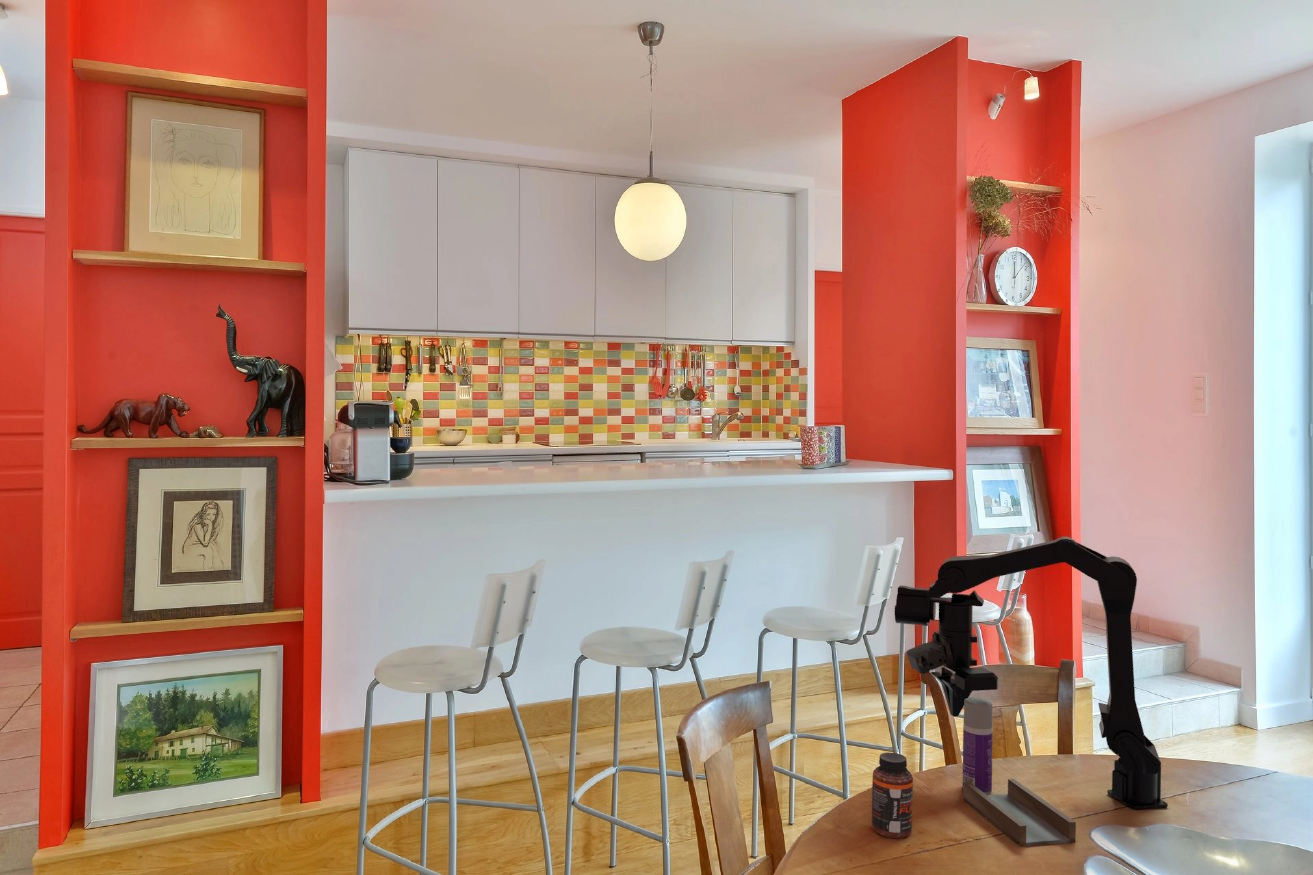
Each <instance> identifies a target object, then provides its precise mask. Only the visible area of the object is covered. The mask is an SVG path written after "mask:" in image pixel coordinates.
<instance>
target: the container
mask: <svg viewBox="0 0 1313 875" xmlns="http://www.w3.org/2000/svg"><path fill="white" fill-rule="evenodd" d="M962 726H963V728H962V731H963V732H962V783H963V782H970V783H972V784H973V785H974V786H976V787H977V788H978V789H979V790H981V791H982V792H983V793H985V794H986V795H992V793H993V789H992V788H993V745H994V744H993V743H994V742H993V741H994V740H993V738H994V737H993V734H994V732H993V729H994V728H993V726H994V725H993V702H992V701H991V700H989V699H987V698H982V697H968V698H966V699H965V700H964V706H963V725H962Z"/></svg>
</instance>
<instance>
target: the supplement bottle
mask: <svg viewBox="0 0 1313 875" xmlns="http://www.w3.org/2000/svg"><path fill="white" fill-rule="evenodd" d="M878 758H879V760H878V764H879V765H878V766H877V767H875V768H874V770H873V771H872V782H871V783H872V784H871V786H872V789H871V791H872V792H871V793H872V794H871V796H872V797H871V828H872V829H873V831H874V832H875V833H876V834H879V835H880V836H883V837H885V838H889V839H903V838H906V837H908V836H910V835H911V834H912V831H913V830H912V828H913V795H914V794H913V793H914V792H913V791H914V790H913V788H914V784H913V783H914V776H913V774H912V772H910V771H909V770H908V763H907V762H908V760H907V757H906V756H905V755H903V754H900V753H897V752H883V753H880V754H879V757H878Z"/></svg>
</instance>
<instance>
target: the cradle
mask: <svg viewBox="0 0 1313 875" xmlns="http://www.w3.org/2000/svg"><path fill="white" fill-rule="evenodd" d="M962 790H963V791H962V792H963V794H962V795H963V797H962V798H963V799H962V800H963V801H964V802H965V803H966V804H968V805H969V806H970V807H971V808H972V809H974V810H975V811H976V812H977V813H979V815H980V816H982V817H983V818H984V819H985V820H987V821H988V822H989V823H991V824H992V825H993V826H994V827H995V828H997V829H998V831H1000V832H1002V834H1004V835H1006V837H1008V839H1010V840H1011V841H1012V842H1014V843H1015V844H1016V845H1017V846H1019V847H1030V846H1041V845H1043V846H1044V845H1045V846H1046V845H1054V844H1055V845H1057V844H1067V843H1076V838H1077V837H1076V836H1077V833H1076V829H1077V828H1076V827H1077V826H1076V821H1075V820H1074V819H1072V818H1071V817H1070V816H1068V815H1067V814H1065V813H1064V812H1062V811H1061V810H1059V809H1058V808H1057V807H1055V806H1053V804H1051V803H1049V802H1048V801H1047V800H1045V799H1044V798H1042V797H1040V796H1039V795H1038V794H1037V793H1035V792H1034V791H1032V790H1030V789H1029V788H1028V787H1026V786H1025V785H1023V784H1022V783H1021V782H1019V781H1018V780H1017V779H1015V778H1008V779H1007V793H1002V794H1001V793H1000V794H989V795H986V794H985V793H983V792H982V791H981V790H979V789H978V788H977V787H976V786H974V785H973V784H972V783H970V782H963V781H962Z"/></svg>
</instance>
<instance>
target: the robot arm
mask: <svg viewBox="0 0 1313 875" xmlns="http://www.w3.org/2000/svg"><path fill="white" fill-rule="evenodd" d="M1060 563H1065V564H1067V565H1069V566H1070V567H1072V568H1074V569H1075V570H1077V571H1079V572H1080V573H1082V574H1084V575H1085V576H1087V577H1089V578H1091V579H1093V580H1094V581H1096V583H1097V586H1098V591H1099V594H1100V595H1099V596H1100V598H1101V603H1102V605H1103V609H1104V610H1103V611H1104V614H1105V615H1104V616H1105V620H1104V621H1105V633H1106V636H1105V637H1106V653H1107V655H1106V656H1107V668H1108V669H1107V670H1108V672H1107V675H1108V688H1109V691H1108V692H1109V693H1108V698H1107V702H1106V703H1102V702H1098V703H1097V704H1098V708H1099V713H1100V722H1099V723H1098V725H1099V731H1100V735H1101V736H1100V737H1101V738H1102V739H1105V741H1106V744H1107V747H1108V748H1109V751H1111V752H1112V753H1113V754H1115V756H1118V757H1119V758H1118V759H1115V760H1114V761H1113V762H1114V763H1113V764H1114V766H1113V767H1114V768H1113V770H1111V771H1112V772H1111V789H1107V791H1106V792H1107V794H1108V795H1110V796H1111V797H1112V798H1115V800H1117V801H1119V802H1121V803H1123V804H1124V805H1126V806H1128V807H1129V808H1131V809H1133V810H1134V809H1135V810H1142V809H1143V810H1144V809H1153V808H1154V809H1155V808H1167V807H1168V806H1169V804H1168V802H1166V801H1164V799H1161V795H1162V793H1161V792H1162V782H1161V781H1162V762H1161V759H1160V756H1159V754H1158V751H1157V748H1156V745H1155V744H1154V743H1153V741H1151V740H1150V738H1148V737H1147V736H1146V735H1145V732H1144V728H1143V724H1142V721H1141V720H1142V719H1141V716H1140V713H1139V709H1138V705H1137V702H1136V694H1135V692H1136V691H1135V689H1136V688H1135V675H1134V674H1135V673H1134V657H1133V656H1134V654H1133V639H1132V638H1133V634H1132V618H1131V617H1132V613H1133V612H1132V611H1133V607H1134V604H1135V603H1134V602H1135V597H1136V591H1137V590H1136V589H1137V584H1138V578H1137V574H1136V571H1135V570H1134V569H1133V567H1132V565H1131V564H1130V563H1129V562H1128V561H1127V560H1126V559H1124V558H1122V557H1119V556H1105V554H1104V555H1103V554H1102V553H1100V552H1098V551H1096V550H1094V549H1092V548H1090V547H1087V546H1085V545H1084V544H1081V543H1079V542H1077V541H1076V540H1075V539H1073V538H1072V537H1069V536H1060V537H1058V538H1057V539H1053V540H1050V541H1049V540H1048V541H1045V542H1040V543H1036V544H1031V545H1028V546H1023V547H1019V548H1015V549H1010V550H1007V551H1001V552H998V553H993V554H985V555H981V554H980V555H979V554H978V555H977V554H974V555H973V554H971V555H970V554H969V555H954V556H950V557H948V558H947V559H945V560H944V561H943V562H942V564H941V565H940V567H939V568H938V571H937V579H936V580H935V582H932V583H931V584H930V585H929V588H927V587H926V588H923V587H912V586H907V585H899V586H898V587H897V594H896V599H895V600H896V602H895V605H894V620H895V623H896V624H903V625H904V624H905V625H913V626H923V627H929V624H930V623H931V622H935V621H936V612H937V611H936V609H937V606H936V605H937V604H938V631H933V633H932V635H931V637H932V639H931V641H928V642H924V643H921V644H919V645H916V646H915V647H912V648H909V649H907V650H906V652H905V653H906V658H907V659H908V663H909V665H910V668H911V669H912V670H914V671H916V672H918V674H920V675H923V674H924V675H925V674H928V673H930V674H931V676H933V677H934V678H935V679H936V680H937V681H938V682H939V683H940V684H941V687H942V690H943V693H944V696H945V700H946V704H947V706H948V707H947V708H948V710H949V714H950V715H951V716H952V717H958V716H959V715H960V714H961V712H962V710H963V709H964V700H965V699H966V698H970V695H971V694H972V693H973V692H975V691H976V692H977V691H998V690H999V677H998V676H997V675H996V674H995V672H993V671H991V670H989V669H987V668H985V667H983V666H981V667H980V666H979V667H977V665H978V660H977V659H975V658H973V643H978V636H977V635H974V634H973V607H983V606H984V603H985V600H984V598H982V597H981V596H980V595H979V594H978V593H977V591H976V590H975V589H974V590H972V591H971V592H970V593H969V594H964V593H963V592H965V591H968V590H970V589H973V588H975V587H979V586H980V585H981V584H984V583H986V582H988V581H990V580H993V579H995V578H998V577H1003V576H1008V575H1012V574H1017V573H1020V572H1025V571H1029V570H1035V569H1039V568H1044V567H1048V566H1053V565H1057V564H1058V565H1059V564H1060ZM949 593H952V594H951V597H943V596H945V595H947V594H949ZM973 666H975V667H973ZM933 670H934V671H933ZM930 671H931V672H930Z"/></svg>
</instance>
